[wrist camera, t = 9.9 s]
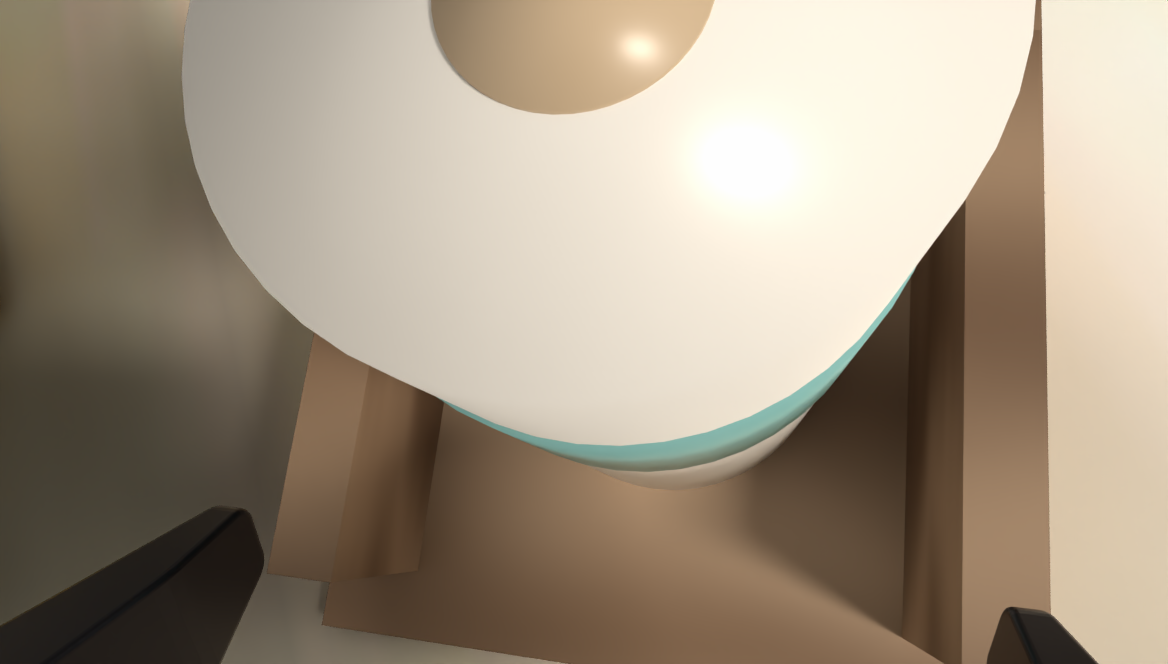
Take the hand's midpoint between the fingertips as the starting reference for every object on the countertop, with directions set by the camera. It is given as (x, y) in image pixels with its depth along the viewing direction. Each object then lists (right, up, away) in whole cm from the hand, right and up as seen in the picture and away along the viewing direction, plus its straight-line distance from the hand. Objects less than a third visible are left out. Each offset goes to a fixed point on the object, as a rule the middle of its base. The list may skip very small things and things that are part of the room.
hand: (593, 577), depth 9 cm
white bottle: (+2, +3, +8) cm, 9 cm away
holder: (+2, +3, +9) cm, 9 cm away
